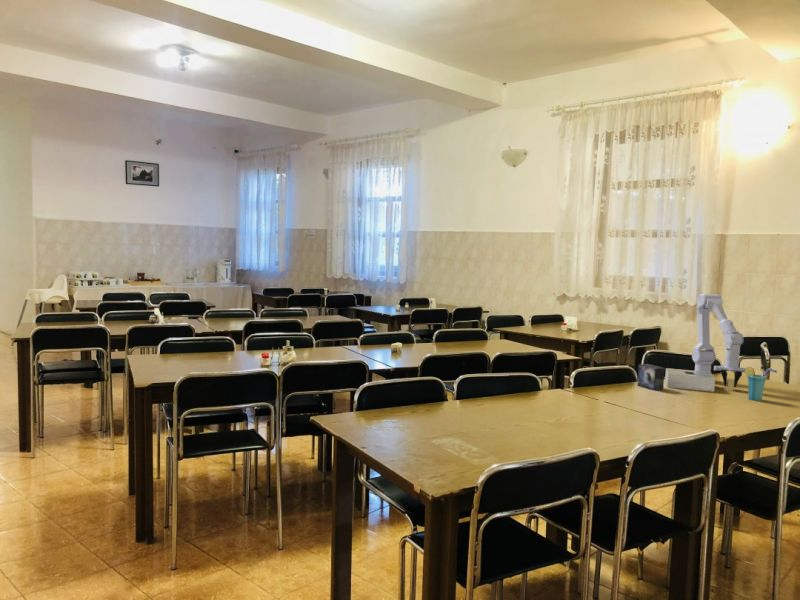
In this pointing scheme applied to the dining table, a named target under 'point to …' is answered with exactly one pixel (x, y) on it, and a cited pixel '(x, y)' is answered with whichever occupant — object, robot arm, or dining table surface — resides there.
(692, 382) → the cash box
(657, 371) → the small box
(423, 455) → the dining table surface
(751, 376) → the cup
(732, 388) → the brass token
